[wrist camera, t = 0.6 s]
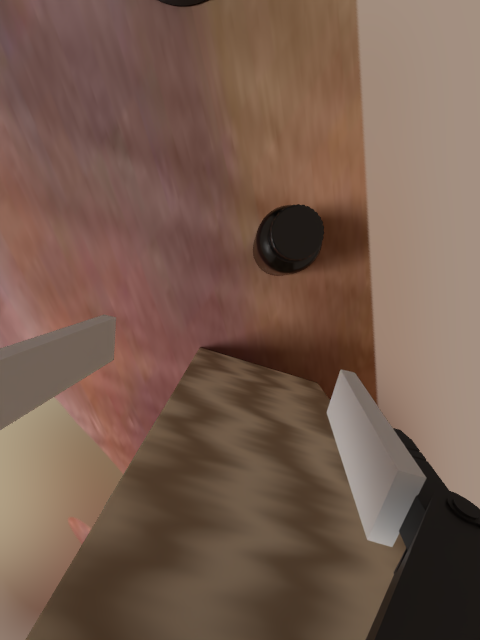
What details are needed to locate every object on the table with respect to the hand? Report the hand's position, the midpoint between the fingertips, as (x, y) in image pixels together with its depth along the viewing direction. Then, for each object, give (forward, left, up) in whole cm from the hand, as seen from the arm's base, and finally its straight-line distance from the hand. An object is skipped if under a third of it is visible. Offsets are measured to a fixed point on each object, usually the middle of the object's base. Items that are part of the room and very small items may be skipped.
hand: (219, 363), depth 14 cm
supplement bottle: (-10, -3, -21) cm, 24 cm away
